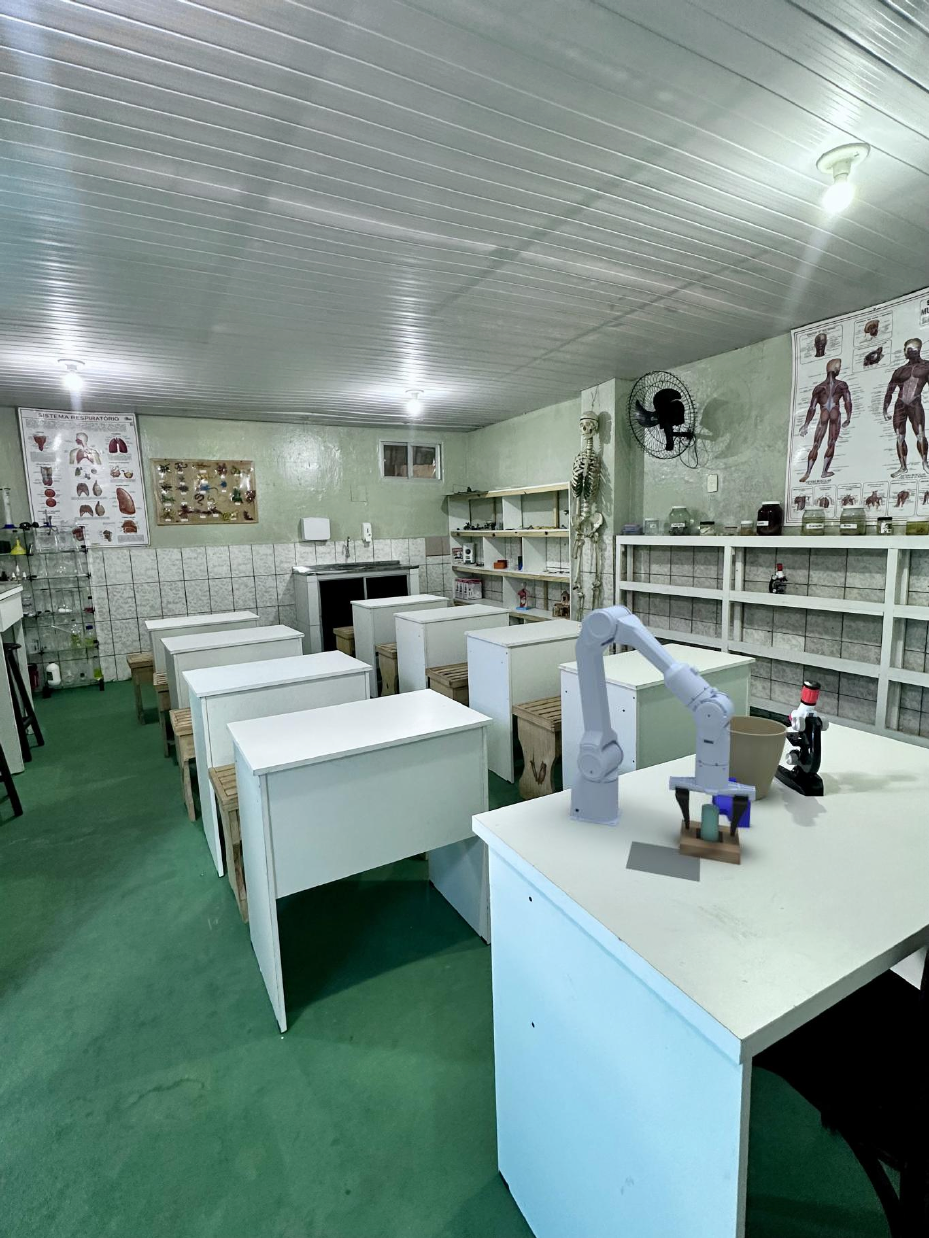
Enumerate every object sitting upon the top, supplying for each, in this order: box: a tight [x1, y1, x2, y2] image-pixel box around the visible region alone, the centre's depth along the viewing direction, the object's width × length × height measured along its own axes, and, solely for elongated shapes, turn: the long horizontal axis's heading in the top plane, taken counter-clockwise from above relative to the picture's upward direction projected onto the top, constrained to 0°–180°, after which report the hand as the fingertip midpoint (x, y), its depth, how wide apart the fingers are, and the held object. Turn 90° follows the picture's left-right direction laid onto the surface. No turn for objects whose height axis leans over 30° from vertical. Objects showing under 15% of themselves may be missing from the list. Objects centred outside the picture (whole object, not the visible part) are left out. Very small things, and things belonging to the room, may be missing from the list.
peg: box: [700, 803, 720, 843], centre depth 110 cm, size 3×3×8 cm
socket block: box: [679, 818, 742, 866], centre depth 110 cm, size 10×10×2 cm
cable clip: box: [711, 778, 752, 829], centre depth 123 cm, size 12×4×6 cm, turn 170°
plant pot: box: [728, 715, 789, 800], centre depth 133 cm, size 15×15×16 cm
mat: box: [625, 840, 701, 883], centre depth 106 cm, size 12×10×1 cm
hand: (709, 830), depth 110 cm, fingers open, 7 cm apart
